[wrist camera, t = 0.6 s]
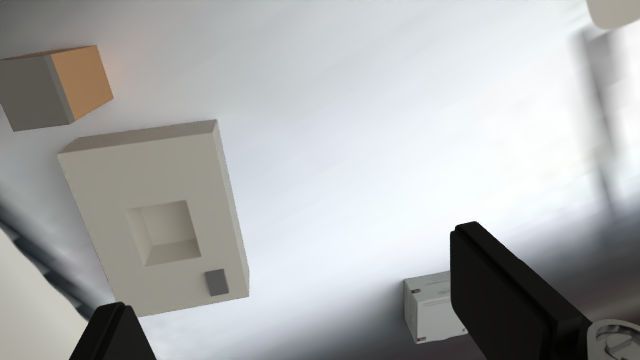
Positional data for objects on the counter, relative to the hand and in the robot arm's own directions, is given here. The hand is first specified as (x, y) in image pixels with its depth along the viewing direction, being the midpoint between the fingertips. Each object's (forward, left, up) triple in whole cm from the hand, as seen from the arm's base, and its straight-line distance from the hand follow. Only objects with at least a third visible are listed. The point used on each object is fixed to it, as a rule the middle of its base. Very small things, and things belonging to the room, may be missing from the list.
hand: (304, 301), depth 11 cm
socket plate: (+12, -13, -32) cm, 36 cm away
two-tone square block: (-4, -17, -32) cm, 37 cm away
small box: (+32, +19, -32) cm, 49 cm away
